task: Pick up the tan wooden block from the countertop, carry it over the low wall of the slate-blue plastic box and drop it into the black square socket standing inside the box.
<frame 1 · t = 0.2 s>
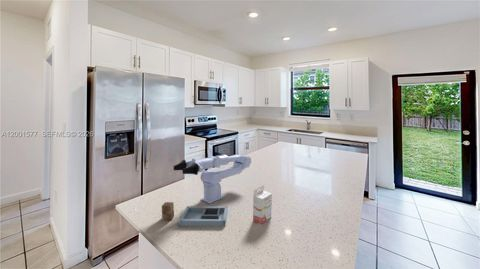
hand: (178, 169, 100), 22 cm above the countertop, tool horizontal, fingers open, 7 cm apart
ink cartridge box: (262, 219, 96), on the countertop
tan wooden block: (168, 218, 97), on the countertop
socket box: (204, 218, 97), on the countertop
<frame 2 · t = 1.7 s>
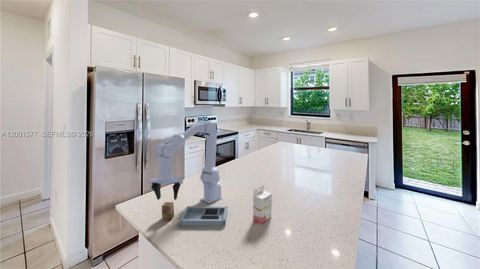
hand: (167, 198, 96), 10 cm above the countertop, tool pointing down, fingers open, 7 cm apart
nothing on the countertop moved.
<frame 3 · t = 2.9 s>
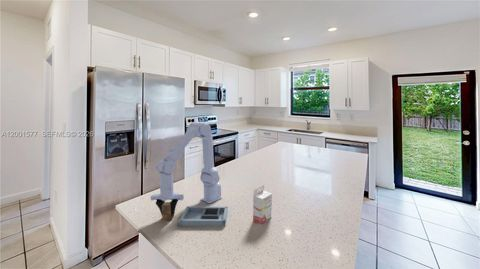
hand: (168, 214, 97), 2 cm above the countertop, tool pointing down, fingers closed on tan wooden block, 4 cm apart
tan wooden block: (168, 218, 97), on the countertop, touching gripper
everything else where it was.
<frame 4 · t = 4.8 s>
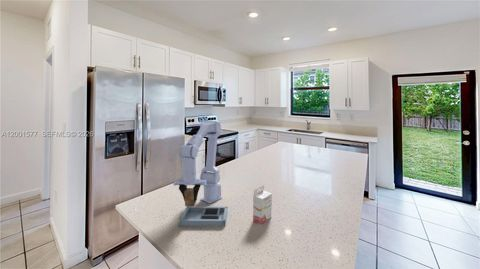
hand: (190, 200, 96), 9 cm above the countertop, tool pointing down, fingers closed on tan wooden block, 4 cm apart
tan wooden block: (190, 204, 96), point 7 cm above the countertop, touching gripper
everything else where it was.
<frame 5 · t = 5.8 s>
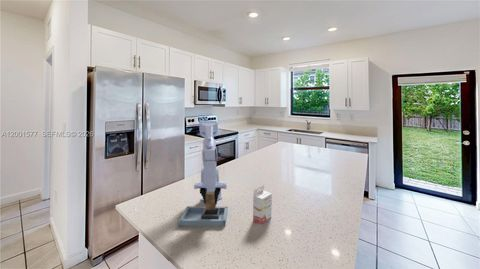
hand: (210, 203, 96), 7 cm above the countertop, tool pointing down, fingers closed on tan wooden block, 4 cm apart
tan wooden block: (211, 207, 96), point 5 cm above the countertop, touching gripper
everything else where it was.
when the fingers open (4 cm above the countertop, at t = 6.7 s): tan wooden block drops 2 cm, resting on socket box.
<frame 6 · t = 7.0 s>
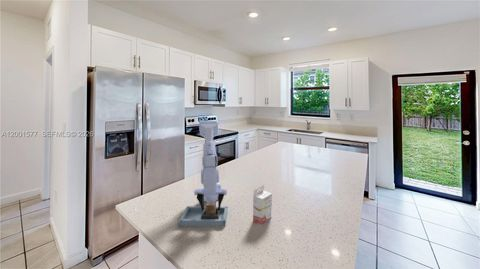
hand: (211, 209, 96), 4 cm above the countertop, tool pointing down, fingers open, 7 cm apart
tan wooden block: (211, 217, 97), resting on socket box
everything else where it was.
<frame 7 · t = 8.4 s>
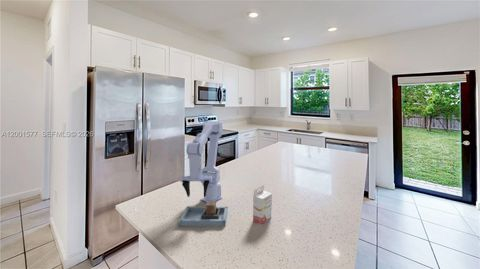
hand: (196, 195, 99), 9 cm above the countertop, tool pointing down, fingers open, 7 cm apart
nothing on the countertop moved.
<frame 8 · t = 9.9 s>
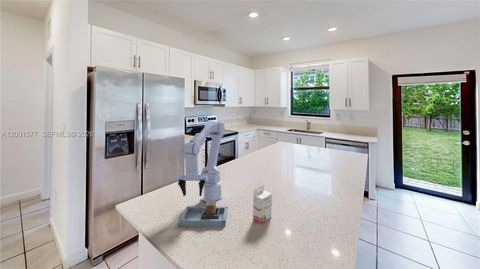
hand: (192, 195, 100), 9 cm above the countertop, tool pointing down, fingers open, 7 cm apart
nothing on the countertop moved.
at the end: tan wooden block 0.1 cm from the target spot on the socket box, point 0.4 cm above the socket box's base; tan wooden block tilted 0°; the gripper is holding nothing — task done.
